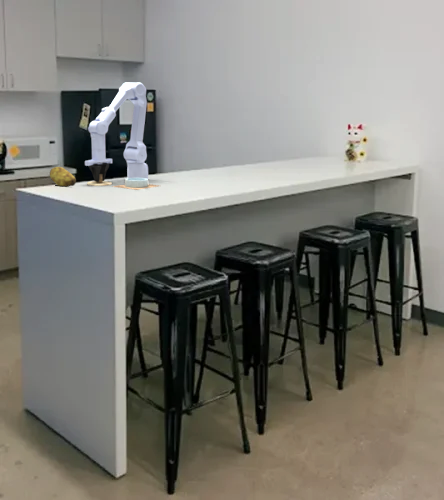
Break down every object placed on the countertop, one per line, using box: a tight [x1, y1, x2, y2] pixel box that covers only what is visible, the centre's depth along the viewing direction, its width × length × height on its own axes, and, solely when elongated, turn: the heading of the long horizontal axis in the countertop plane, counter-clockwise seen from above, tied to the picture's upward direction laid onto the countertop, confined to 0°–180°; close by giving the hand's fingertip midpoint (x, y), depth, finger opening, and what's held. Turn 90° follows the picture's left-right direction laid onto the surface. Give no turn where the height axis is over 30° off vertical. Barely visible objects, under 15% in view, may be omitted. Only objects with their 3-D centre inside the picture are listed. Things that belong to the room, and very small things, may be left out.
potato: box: [49, 166, 77, 187], centre depth 269 cm, size 8×13×8 cm, turn 37°
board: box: [111, 183, 160, 191], centre depth 268 cm, size 16×14×1 cm
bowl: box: [124, 177, 149, 188], centre depth 267 cm, size 10×10×3 cm
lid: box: [86, 174, 113, 187], centre depth 271 cm, size 10×10×4 cm
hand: (99, 181), depth 271 cm, fingers closed on lid, 3 cm apart
